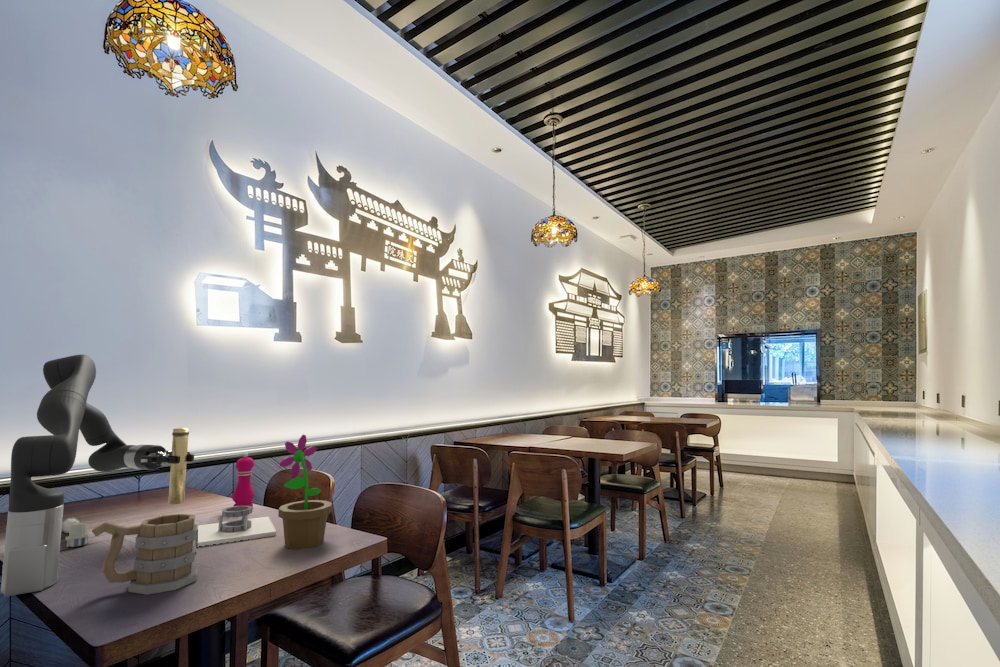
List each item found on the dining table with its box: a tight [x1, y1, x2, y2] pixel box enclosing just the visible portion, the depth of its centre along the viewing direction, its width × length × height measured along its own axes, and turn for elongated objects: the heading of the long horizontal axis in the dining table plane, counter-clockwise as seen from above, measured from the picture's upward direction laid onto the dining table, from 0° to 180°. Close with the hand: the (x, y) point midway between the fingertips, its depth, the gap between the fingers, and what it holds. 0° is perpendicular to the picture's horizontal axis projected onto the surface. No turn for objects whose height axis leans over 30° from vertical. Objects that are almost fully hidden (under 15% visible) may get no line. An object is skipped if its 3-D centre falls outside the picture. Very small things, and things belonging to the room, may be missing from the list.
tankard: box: [91, 513, 199, 596], centre depth 111 cm, size 20×13×15 cm, turn 118°
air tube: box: [167, 427, 190, 505], centre depth 149 cm, size 4×4×22 cm
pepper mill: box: [231, 452, 256, 509], centre depth 181 cm, size 7×7×20 cm
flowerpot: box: [277, 434, 333, 550], centre depth 142 cm, size 14×14×30 cm
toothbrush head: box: [61, 516, 91, 548], centre depth 146 cm, size 5×7×25 cm
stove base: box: [197, 505, 277, 548], centre depth 151 cm, size 20×20×7 cm
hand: (185, 458), depth 149 cm, fingers closed on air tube, 4 cm apart
